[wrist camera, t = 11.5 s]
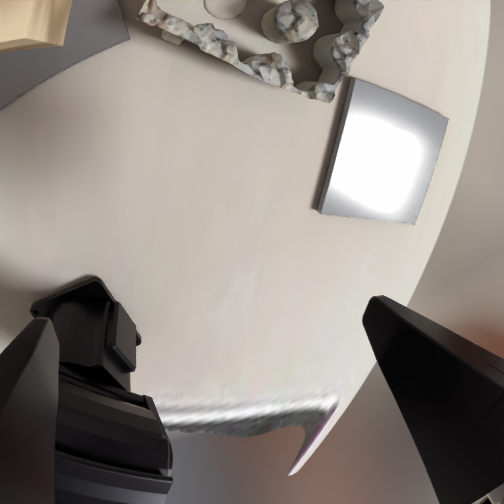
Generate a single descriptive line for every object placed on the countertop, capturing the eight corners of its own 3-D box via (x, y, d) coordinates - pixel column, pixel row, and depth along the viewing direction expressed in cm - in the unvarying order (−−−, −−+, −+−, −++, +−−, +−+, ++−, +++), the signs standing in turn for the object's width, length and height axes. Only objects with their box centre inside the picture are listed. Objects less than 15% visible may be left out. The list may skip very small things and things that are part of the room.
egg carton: (131, 33, 13) (121, 20, 9) (199, -71, 10) (210, -104, 6) (303, 109, 17) (336, 120, 14) (357, 14, 14) (398, 7, 11)
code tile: (410, 221, 24) (414, 224, 23) (316, 210, 21) (320, 214, 20) (443, 116, 19) (449, 118, 19) (350, 77, 16) (355, 78, 16)
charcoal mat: (-9, 116, 12) (-14, 118, 11) (-39, -1, 7) (-44, -2, 6) (130, 39, 13) (129, 37, 12) (95, -81, 7) (93, -85, 7)
